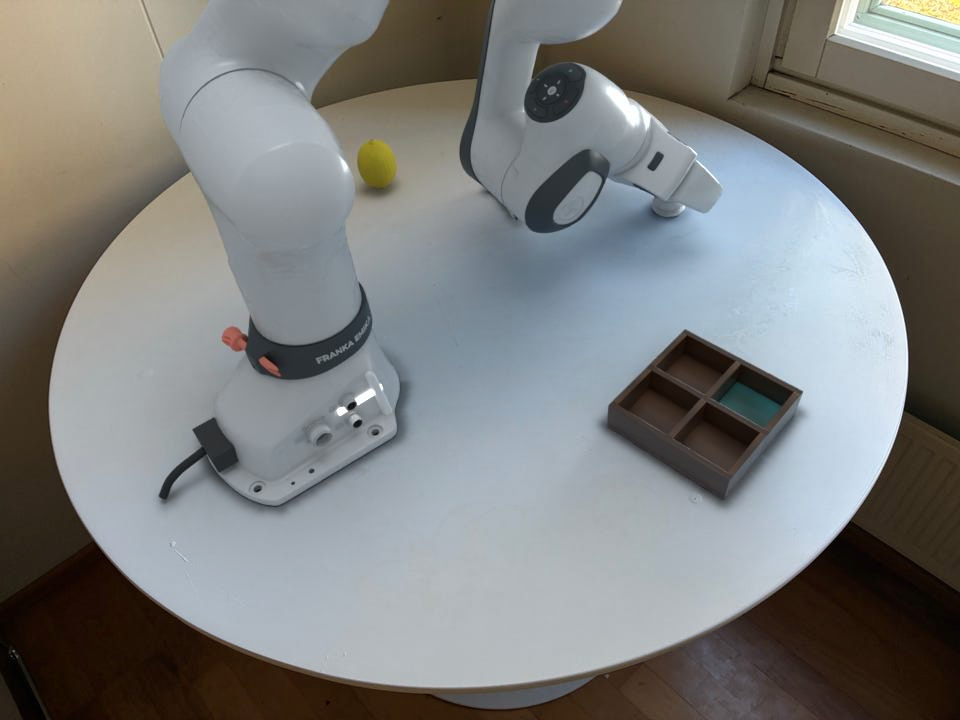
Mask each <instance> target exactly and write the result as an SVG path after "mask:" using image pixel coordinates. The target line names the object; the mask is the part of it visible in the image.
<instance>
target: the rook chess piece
mask: <svg viewBox="0 0 960 720" xmlns="http://www.w3.org/2000/svg"><path fill="white" fill-rule="evenodd" d="M651 207H652V210H653V211H654V212H655V214H657V215H658V216H660V217H663V218H675V217H678V216H679V215H681V214H682V213H683V212H684V211H685V209H686V206H684V205H682V204H680V203H678V202H675V201H673V200H671V199H668V200H667V201H663V200H661V199H660V198H656V197H655V196H653V197H652V203H651Z"/></svg>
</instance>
